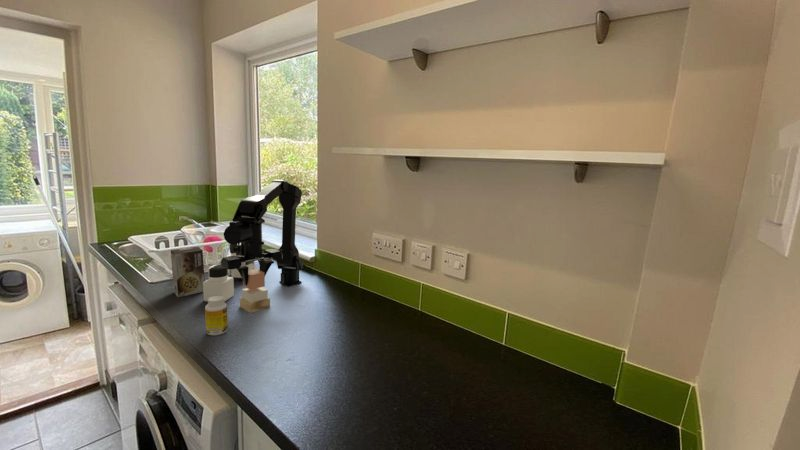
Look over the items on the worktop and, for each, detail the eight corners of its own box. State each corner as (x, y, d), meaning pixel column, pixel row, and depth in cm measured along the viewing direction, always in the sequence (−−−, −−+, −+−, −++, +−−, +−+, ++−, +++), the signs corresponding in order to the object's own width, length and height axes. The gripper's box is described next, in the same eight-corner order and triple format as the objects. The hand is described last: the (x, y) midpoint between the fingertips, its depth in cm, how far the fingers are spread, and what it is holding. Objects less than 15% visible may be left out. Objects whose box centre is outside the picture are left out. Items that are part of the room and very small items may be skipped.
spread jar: (247, 282, 141) (246, 254, 139) (219, 281, 141) (218, 253, 139) (259, 273, 153) (259, 247, 151) (233, 272, 153) (233, 246, 151)
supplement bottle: (226, 335, 99) (225, 301, 97) (204, 337, 97) (202, 302, 95) (228, 326, 104) (227, 293, 103) (208, 328, 102) (206, 295, 101)
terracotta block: (257, 282, 121) (256, 268, 120) (264, 286, 118) (264, 272, 117) (243, 285, 117) (242, 271, 116) (250, 289, 114) (250, 275, 113)
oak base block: (259, 301, 124) (259, 292, 123) (270, 307, 119) (269, 298, 119) (240, 307, 118) (239, 297, 118) (250, 313, 114) (250, 303, 113)
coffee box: (200, 287, 134) (198, 246, 131) (205, 291, 129) (203, 249, 126) (172, 292, 127) (170, 249, 125) (177, 297, 123) (174, 253, 120)
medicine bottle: (234, 295, 127) (233, 263, 125) (222, 303, 120) (221, 269, 118) (216, 293, 128) (214, 262, 126) (203, 301, 121) (201, 268, 119)
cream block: (259, 293, 123) (258, 285, 122) (267, 298, 119) (267, 289, 118) (242, 297, 118) (241, 289, 118) (250, 302, 114) (250, 294, 114)
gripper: (266, 230, 127) (266, 271, 129) (212, 237, 112) (214, 283, 115) (283, 235, 120) (283, 279, 122) (228, 243, 105) (230, 292, 108)
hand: (253, 283), depth 117 cm, fingers closed on terracotta block, 5 cm apart
